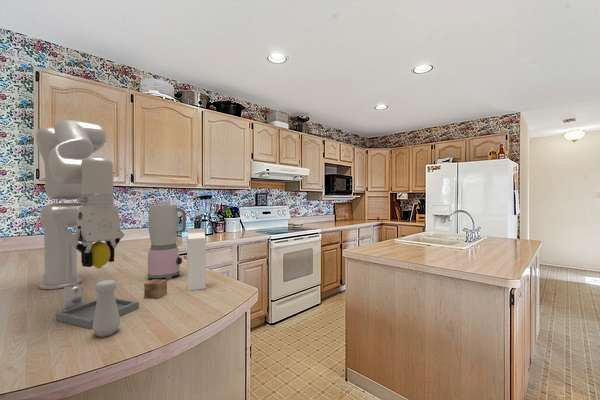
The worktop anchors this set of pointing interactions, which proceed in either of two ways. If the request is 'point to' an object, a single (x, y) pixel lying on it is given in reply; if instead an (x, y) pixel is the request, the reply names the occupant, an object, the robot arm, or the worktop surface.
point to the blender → (164, 240)
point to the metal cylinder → (73, 296)
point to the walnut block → (155, 289)
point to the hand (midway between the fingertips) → (98, 263)
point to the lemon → (100, 254)
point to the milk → (196, 259)
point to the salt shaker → (106, 309)
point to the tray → (92, 312)
